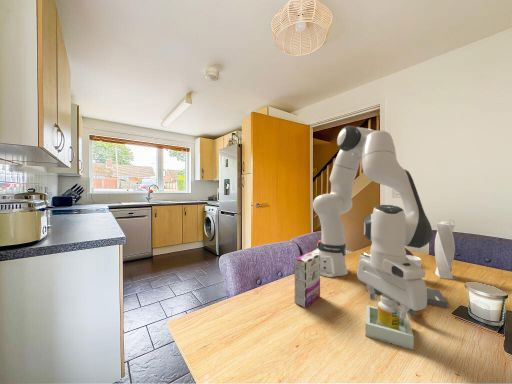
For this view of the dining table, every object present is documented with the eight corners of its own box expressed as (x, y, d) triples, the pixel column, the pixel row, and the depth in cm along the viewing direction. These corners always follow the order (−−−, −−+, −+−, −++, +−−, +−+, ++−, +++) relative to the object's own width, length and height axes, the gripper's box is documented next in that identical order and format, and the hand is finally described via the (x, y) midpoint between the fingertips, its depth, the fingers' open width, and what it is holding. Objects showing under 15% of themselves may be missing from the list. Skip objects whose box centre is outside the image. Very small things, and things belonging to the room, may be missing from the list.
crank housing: (366, 299, 80) (366, 293, 80) (366, 281, 95) (367, 277, 95) (454, 318, 68) (454, 312, 68) (438, 295, 83) (439, 289, 83)
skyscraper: (460, 282, 96) (462, 220, 95) (438, 279, 98) (440, 219, 98) (450, 275, 104) (451, 217, 103) (430, 272, 106) (431, 216, 106)
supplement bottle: (383, 321, 66) (383, 290, 66) (402, 330, 62) (403, 298, 61) (373, 327, 63) (374, 295, 63) (393, 338, 59) (394, 303, 58)
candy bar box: (308, 292, 85) (309, 251, 85) (320, 296, 82) (320, 254, 82) (293, 303, 77) (293, 258, 77) (305, 308, 74) (306, 261, 73)
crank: (396, 294, 80) (397, 274, 80) (413, 297, 78) (413, 276, 78) (401, 313, 68) (402, 289, 68) (421, 317, 66) (421, 293, 66)
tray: (365, 335, 60) (365, 323, 60) (366, 315, 70) (366, 304, 70) (413, 349, 55) (413, 336, 55) (406, 325, 65) (407, 314, 65)
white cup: (402, 280, 96) (402, 258, 96) (397, 274, 104) (398, 253, 103) (423, 284, 93) (423, 261, 93) (417, 277, 101) (417, 256, 100)
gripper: (352, 251, 71) (351, 292, 72) (413, 276, 52) (411, 332, 52) (367, 250, 73) (367, 290, 73) (432, 273, 53) (430, 327, 54)
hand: (386, 308), depth 63 cm, fingers open, 8 cm apart
